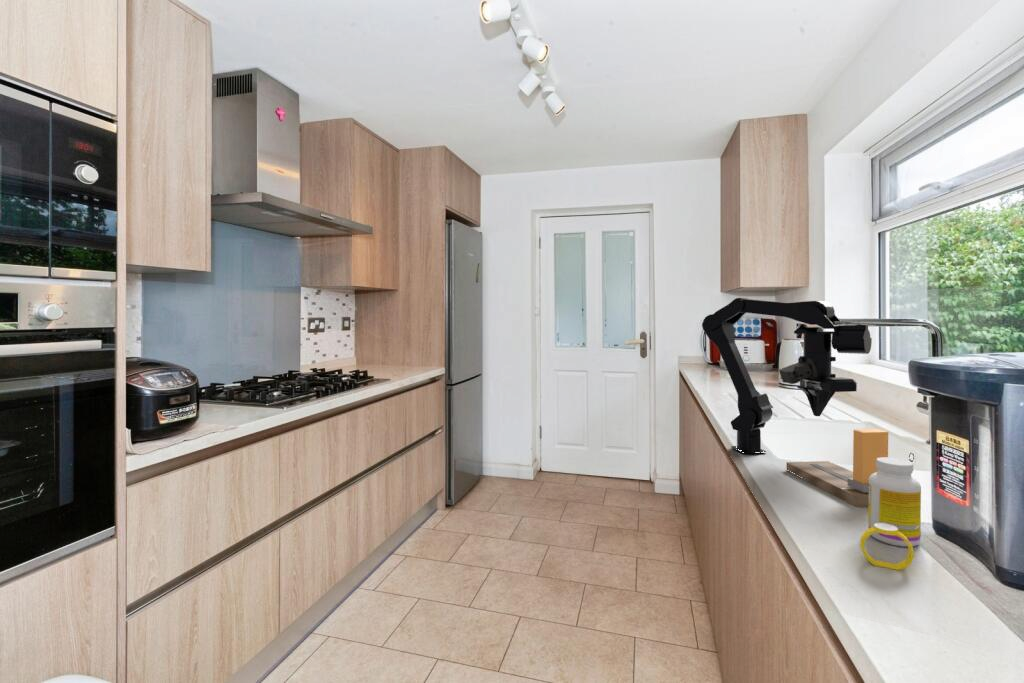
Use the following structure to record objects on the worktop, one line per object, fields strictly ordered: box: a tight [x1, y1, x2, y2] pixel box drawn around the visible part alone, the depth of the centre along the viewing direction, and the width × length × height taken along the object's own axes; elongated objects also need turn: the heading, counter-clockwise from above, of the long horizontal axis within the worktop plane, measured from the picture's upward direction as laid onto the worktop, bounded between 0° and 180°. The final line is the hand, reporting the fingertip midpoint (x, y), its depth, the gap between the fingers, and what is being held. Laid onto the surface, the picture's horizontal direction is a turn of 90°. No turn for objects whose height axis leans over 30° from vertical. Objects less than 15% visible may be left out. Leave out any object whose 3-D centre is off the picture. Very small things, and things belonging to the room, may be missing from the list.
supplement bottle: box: [867, 456, 922, 548], centre depth 77 cm, size 7×7×13 cm
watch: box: [859, 523, 915, 571], centre depth 69 cm, size 6×3×6 cm, turn 59°
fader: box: [848, 428, 889, 493], centre depth 93 cm, size 4×6×12 cm, turn 92°
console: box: [786, 460, 869, 508], centre depth 102 cm, size 22×10×2 cm, turn 2°
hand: (816, 415), depth 116 cm, fingers closed
